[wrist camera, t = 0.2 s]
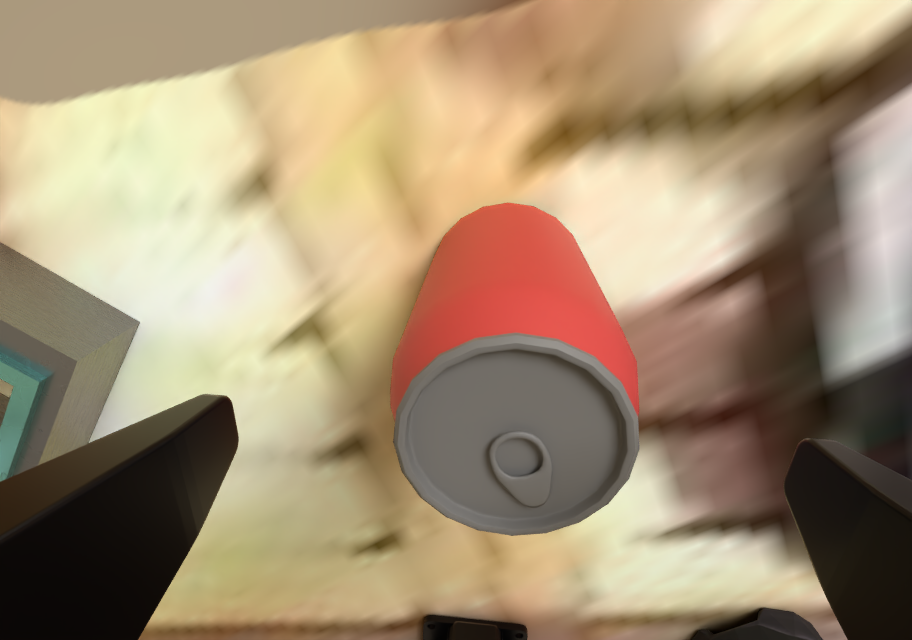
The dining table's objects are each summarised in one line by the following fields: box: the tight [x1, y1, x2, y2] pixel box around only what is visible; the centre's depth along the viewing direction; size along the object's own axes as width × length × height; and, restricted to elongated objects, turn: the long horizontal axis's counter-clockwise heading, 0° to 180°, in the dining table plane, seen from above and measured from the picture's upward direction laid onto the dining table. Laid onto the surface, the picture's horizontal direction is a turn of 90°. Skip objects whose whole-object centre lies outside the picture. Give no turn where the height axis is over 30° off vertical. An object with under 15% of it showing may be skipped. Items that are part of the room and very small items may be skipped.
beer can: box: [390, 203, 639, 536], centre depth 17 cm, size 7×7×12 cm
